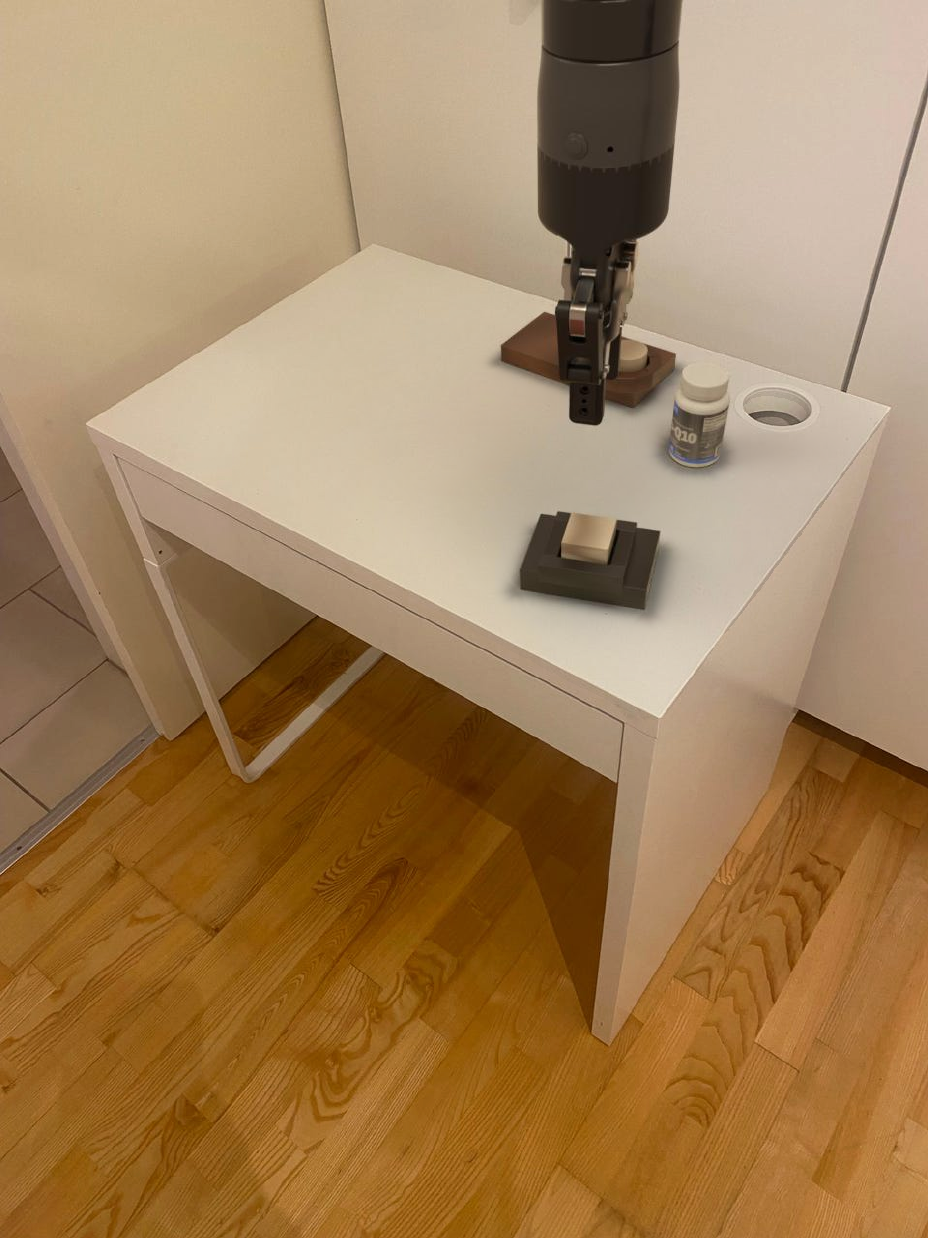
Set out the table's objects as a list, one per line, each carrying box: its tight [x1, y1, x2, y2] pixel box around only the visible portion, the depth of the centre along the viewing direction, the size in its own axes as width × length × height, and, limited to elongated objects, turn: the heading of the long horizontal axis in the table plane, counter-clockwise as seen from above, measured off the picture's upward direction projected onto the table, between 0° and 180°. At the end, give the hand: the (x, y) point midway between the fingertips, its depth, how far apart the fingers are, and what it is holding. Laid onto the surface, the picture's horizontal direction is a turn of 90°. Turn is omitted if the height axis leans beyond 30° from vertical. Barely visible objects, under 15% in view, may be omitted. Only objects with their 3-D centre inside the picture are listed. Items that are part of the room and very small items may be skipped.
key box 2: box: [519, 510, 661, 610], centre depth 76 cm, size 10×8×4 cm
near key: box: [561, 512, 618, 565], centre depth 74 cm, size 4×4×2 cm
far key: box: [619, 339, 648, 372], centre depth 92 cm, size 4×4×2 cm
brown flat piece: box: [500, 311, 677, 409], centre depth 97 cm, size 17×9×4 cm, turn 52°
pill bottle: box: [668, 361, 731, 468], centre depth 85 cm, size 5×5×8 cm
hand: (594, 396), depth 65 cm, fingers open, 5 cm apart
